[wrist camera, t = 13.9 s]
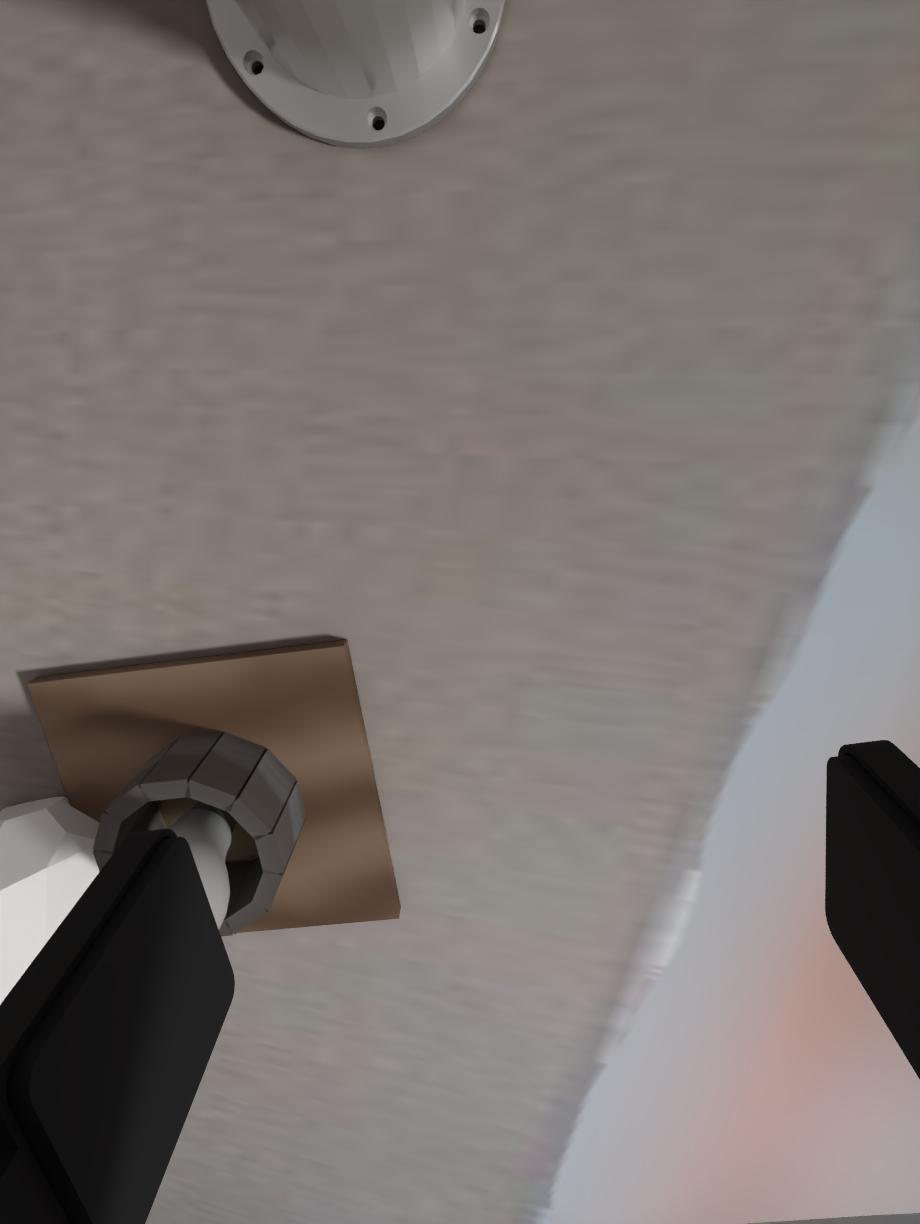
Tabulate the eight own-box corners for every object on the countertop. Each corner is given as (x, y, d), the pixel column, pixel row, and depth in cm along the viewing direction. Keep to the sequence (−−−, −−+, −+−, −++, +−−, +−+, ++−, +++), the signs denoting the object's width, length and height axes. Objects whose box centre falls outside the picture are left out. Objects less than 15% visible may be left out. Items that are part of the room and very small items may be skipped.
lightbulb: (220, 865, 42) (131, 1023, 32) (148, 793, 41) (32, 933, 30) (296, 814, 41) (229, 961, 31) (225, 737, 40) (130, 864, 29)
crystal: (116, 1140, 47) (134, 838, 39) (-15, 1182, 43) (-22, 859, 36) (109, 1043, 53) (124, 765, 45) (-6, 1073, 49) (-10, 777, 42)
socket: (37, 676, 40) (-37, 725, 34) (347, 639, 39) (323, 684, 33) (126, 931, 46) (75, 1010, 40) (400, 906, 44) (388, 984, 38)
